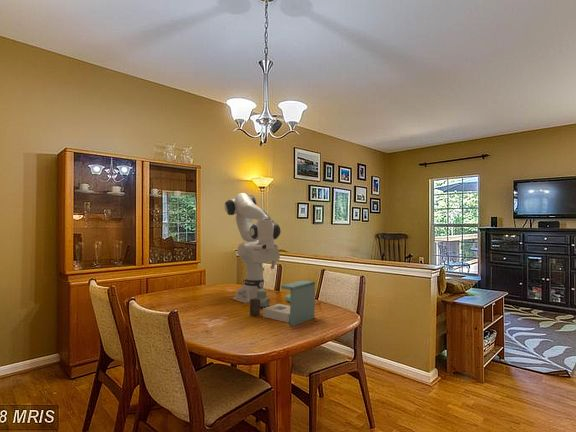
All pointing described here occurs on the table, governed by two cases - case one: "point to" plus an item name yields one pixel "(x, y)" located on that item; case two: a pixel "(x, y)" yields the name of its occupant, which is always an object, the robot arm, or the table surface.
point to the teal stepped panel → (301, 301)
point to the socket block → (277, 312)
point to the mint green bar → (288, 297)
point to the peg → (254, 307)
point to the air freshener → (263, 298)
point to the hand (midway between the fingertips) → (267, 269)
